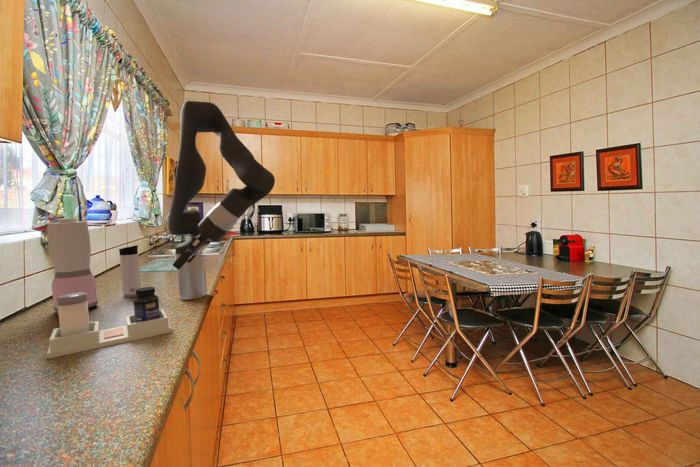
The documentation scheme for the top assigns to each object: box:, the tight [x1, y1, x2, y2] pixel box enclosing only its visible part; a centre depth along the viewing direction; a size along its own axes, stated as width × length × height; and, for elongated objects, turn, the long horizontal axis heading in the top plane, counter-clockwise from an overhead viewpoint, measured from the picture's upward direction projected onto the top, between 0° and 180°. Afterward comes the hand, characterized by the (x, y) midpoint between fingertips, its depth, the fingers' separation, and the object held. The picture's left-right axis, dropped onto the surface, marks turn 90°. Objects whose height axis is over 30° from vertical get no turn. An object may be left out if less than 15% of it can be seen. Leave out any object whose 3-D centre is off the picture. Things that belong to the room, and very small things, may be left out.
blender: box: [46, 217, 99, 316], centre depth 125 cm, size 16×12×32 cm
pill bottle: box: [133, 286, 160, 323], centre depth 101 cm, size 6×6×11 cm
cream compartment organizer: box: [45, 293, 173, 359], centre depth 96 cm, size 27×11×13 cm, turn 124°
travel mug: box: [118, 245, 142, 298], centre depth 141 cm, size 6×7×20 cm
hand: (181, 263), depth 101 cm, fingers open, 8 cm apart
